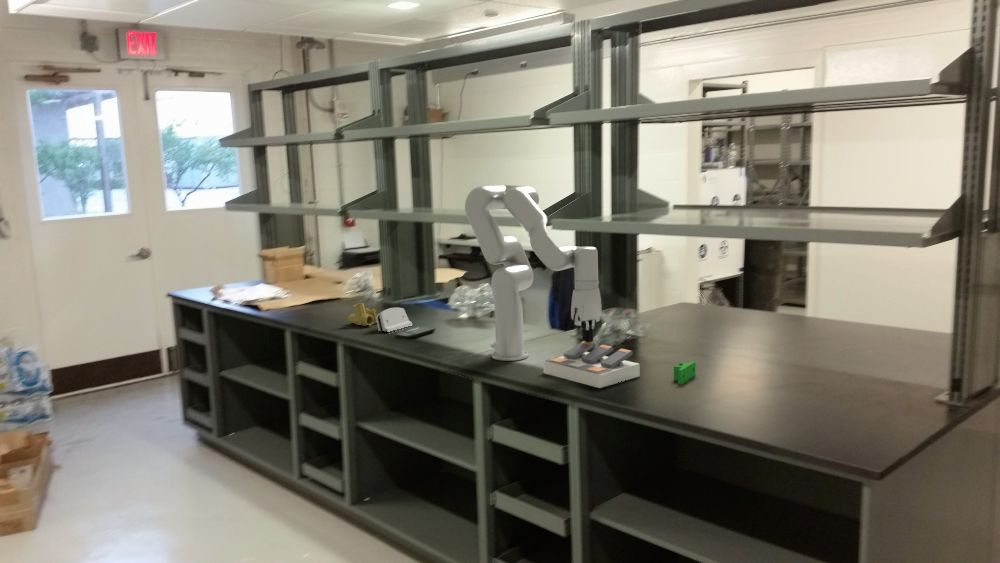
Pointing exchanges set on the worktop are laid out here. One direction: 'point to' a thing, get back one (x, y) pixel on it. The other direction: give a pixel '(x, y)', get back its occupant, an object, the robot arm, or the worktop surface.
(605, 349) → the rocker
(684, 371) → the pipe clamp
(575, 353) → the block
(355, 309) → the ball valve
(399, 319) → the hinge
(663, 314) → the worktop surface
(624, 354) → the rocker
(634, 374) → the switch unit
